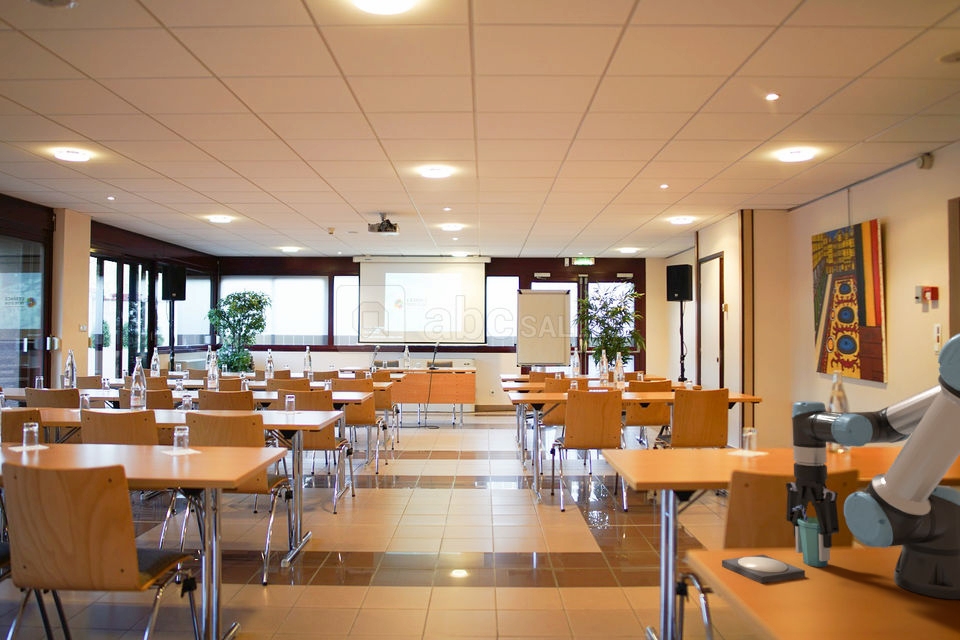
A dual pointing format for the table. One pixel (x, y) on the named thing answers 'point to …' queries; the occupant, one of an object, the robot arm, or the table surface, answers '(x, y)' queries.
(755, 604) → the table surface
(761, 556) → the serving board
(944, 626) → the table surface
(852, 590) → the table surface
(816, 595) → the table surface
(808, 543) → the cup
